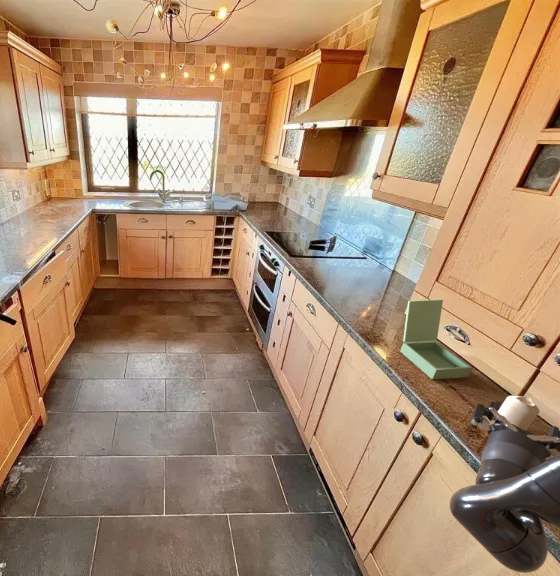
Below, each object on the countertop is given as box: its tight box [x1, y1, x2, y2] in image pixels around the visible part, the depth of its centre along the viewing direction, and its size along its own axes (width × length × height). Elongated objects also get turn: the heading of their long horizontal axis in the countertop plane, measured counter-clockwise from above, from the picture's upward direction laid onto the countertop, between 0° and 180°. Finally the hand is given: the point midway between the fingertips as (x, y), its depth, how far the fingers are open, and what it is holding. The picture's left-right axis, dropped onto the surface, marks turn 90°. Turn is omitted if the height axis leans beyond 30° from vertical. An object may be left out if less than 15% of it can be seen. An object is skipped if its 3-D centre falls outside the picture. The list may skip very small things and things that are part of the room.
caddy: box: [400, 340, 473, 380], centre depth 98 cm, size 13×11×4 cm
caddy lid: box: [402, 298, 444, 343], centre depth 103 cm, size 14×11×4 cm
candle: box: [498, 395, 541, 431], centre depth 75 cm, size 6×6×10 cm
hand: (523, 416), depth 66 cm, fingers open, 8 cm apart
